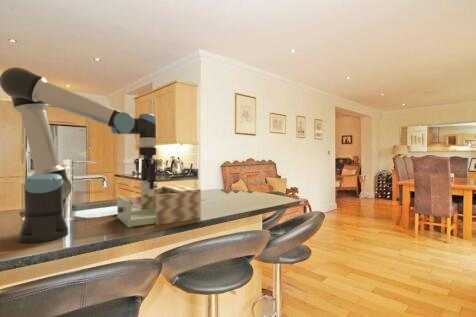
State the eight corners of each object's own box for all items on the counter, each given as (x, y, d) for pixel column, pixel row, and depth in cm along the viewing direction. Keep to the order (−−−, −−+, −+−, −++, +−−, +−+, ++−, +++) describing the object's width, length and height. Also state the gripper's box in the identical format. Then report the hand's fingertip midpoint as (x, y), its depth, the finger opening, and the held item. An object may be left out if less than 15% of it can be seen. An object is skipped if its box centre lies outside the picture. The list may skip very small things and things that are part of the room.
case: (156, 224, 119) (156, 192, 119) (141, 214, 140) (140, 187, 140) (200, 218, 131) (200, 189, 131) (180, 210, 152) (180, 184, 152)
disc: (142, 189, 124) (142, 183, 124) (137, 187, 130) (137, 182, 130) (159, 187, 128) (159, 182, 128) (154, 186, 135) (154, 181, 135)
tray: (124, 228, 113) (123, 202, 112) (113, 217, 131) (113, 195, 131) (176, 220, 125) (176, 197, 125) (160, 212, 144) (160, 192, 144)
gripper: (163, 146, 123) (163, 197, 123) (149, 147, 140) (149, 192, 140) (146, 146, 118) (146, 198, 119) (134, 147, 135) (134, 193, 136)
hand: (148, 195), depth 129 cm, fingers closed on disc, 8 cm apart
